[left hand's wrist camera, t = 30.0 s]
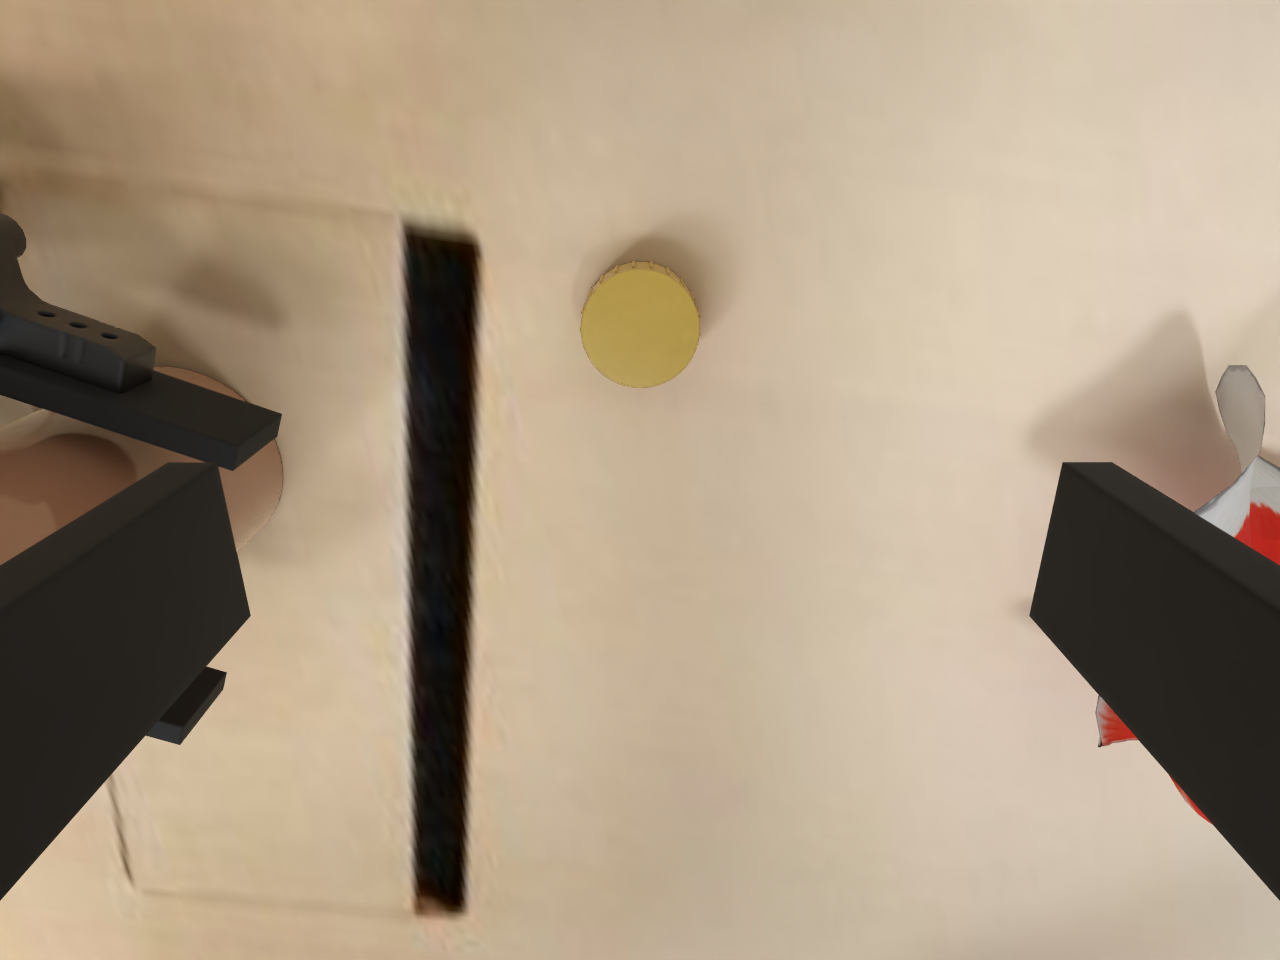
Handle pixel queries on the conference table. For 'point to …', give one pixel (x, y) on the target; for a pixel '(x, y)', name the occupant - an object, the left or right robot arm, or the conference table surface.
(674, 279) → the cap
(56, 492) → the bottle
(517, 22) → the conference table surface
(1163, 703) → the left robot arm
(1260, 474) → the fish
